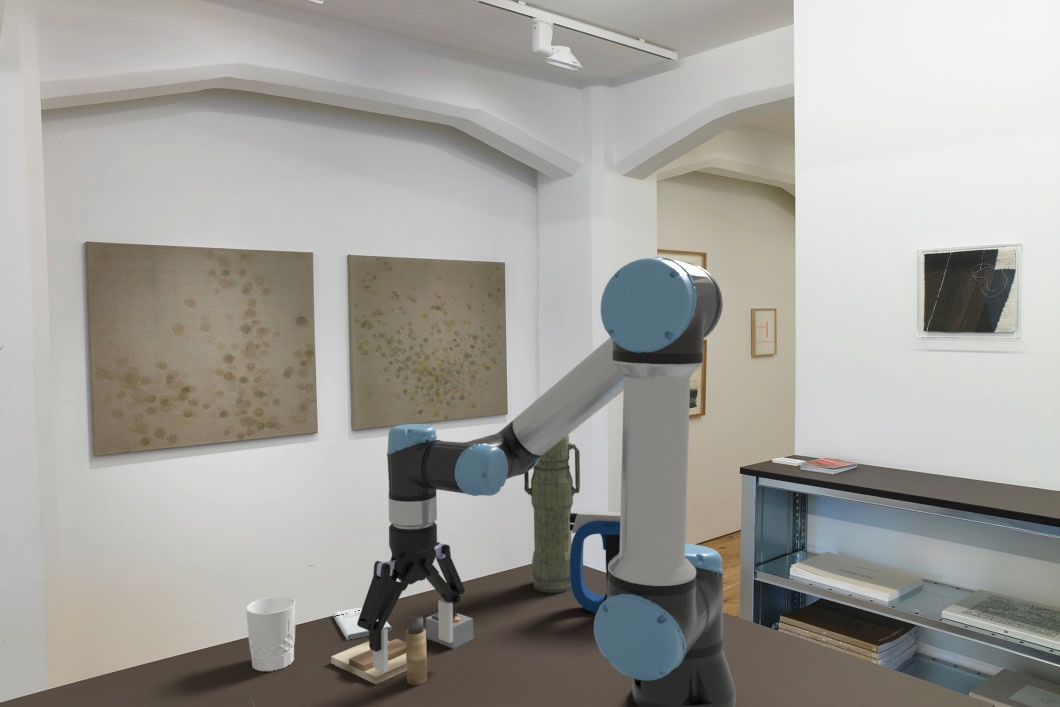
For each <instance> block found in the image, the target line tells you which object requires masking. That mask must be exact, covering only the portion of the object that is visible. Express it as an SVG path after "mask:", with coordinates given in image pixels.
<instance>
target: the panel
mask: <svg viewBox="0 0 1060 707" xmlns="http://www.w3.org/2000/svg"><path fill="white" fill-rule="evenodd" d="M330 664H331V665H333V664H334V665H333V666H335V667H338V668H340V669H342V670H344V671H347V672H348V673H351V674H353V675H354V676H357V677H359V678H362V679H364V680H366V681H367V682H369V683H372V684H375V685H378V684H380V683H382V682H386V681H387V680H389V679H392V678H393V677H395V676H397V675H400V674H401V673H404V672H407V664H406V641H403V640H401V639H398V638H395V639H392V640H390V641H389V640H388V671H387V672H385V673H384V672H382V671H380V670H377V669H375V668H373V650H371V649H370V647H369V640H367V641H366V642H363V643H361V644H358V645H356V646H353V647H350V648H348V649H345V650H343V651H341V652H338V653H336V654H334V655H331V656H330Z"/></svg>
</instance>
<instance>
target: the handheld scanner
mask: <svg viewBox="0 0 1060 707" xmlns="http://www.w3.org/2000/svg"><path fill="white" fill-rule="evenodd" d="M620 516H621V512H620V511H619V512H614V511H612V512H611V511H597V510H596V511H593V510H591V511H590V510H578V512H571V513H570V523H571V524H570V531H571V534H574V535H573V538H572V539H571V552H570V580H571V587H572V589H571V591H572V594H573V596H574V599H575V600H576V601H577V603H578V604H579V605H580V606H582V608H584V609H585V610H587V611H588V612H590V613H592V614H595V615H596V613H597V611H598V610H599V607H600V605H601V604H602V603H603V602H604V601H605V600H606V599H607V592H606V594H597V593H595V592H593V591H591V590H590V589H589V587H588V586H587V584H586V581H585V576H584V544H585V539H587V538H588V537H590V536H593V535H599V536H600V537H601V540H602V541H601V542H602V547H603V548H602V549H603V550H604V551H605V573H606V576H605V577H606V580H607V579H608V564H609V562H610V561H611V560H612V559H613V558H614V557H615V556H617V555H618V554H619V552H620Z"/></svg>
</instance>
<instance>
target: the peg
mask: <svg viewBox="0 0 1060 707" xmlns="http://www.w3.org/2000/svg"><path fill="white" fill-rule="evenodd" d="M407 627H408V628H407V629H406V630H405V642H406V664H407V670H406V683H407V684H409V685H411V686H419V685H423V684H425V683H427V681H428V662H427V661H428V658H427V655H428V654H427V639H426V627H425V628H424V617H423V616H420V615H413V616H409V617H408V618H407Z"/></svg>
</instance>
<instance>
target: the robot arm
mask: <svg viewBox="0 0 1060 707" xmlns="http://www.w3.org/2000/svg"><path fill="white" fill-rule="evenodd" d="M723 304H724V303H723V294H722V291H721V288H720V285H719V283H718V282H717V280H716V279H715V278H714V276H713V275H712V274H711V273H709V272H708V271H707V269H704V268H703V267H701V266H699V265H697V264H696V263H691V262H687V261H679V260H674V259H671V258H668V257H659V256H654V257H650V258H649V257H647V258H640V259H636V260H634V261H631V262H629V263H627V264H625V265H623V266H622V267H620V268H619V269H618V270H617V271H615V273H614V274H613V275H612V276H611V277H610V279H608V282H607V284H606V285H605V288H604V290H603V292H602V295H601V300H600V317H601V318H600V319H601V322H602V325H603V327H604V329H605V332H606V333H607V334H608V336H609V337H608V338H607V339H606V340H605V341H604V342H603V343H602V344H601V345H599V346H598V347H597V348H596V349H595V350H593V351H592V352H591V353H589V355H587V356H586V357H585V358H584V359H583V360H582V361H580V362H579V363H578V364H576V366H574V367H573V369H571V370H570V371H569V372H568V373H566V374H565V375H564V376H563V377H562V378H561V379H559V380H558V381H557V382H556V383H555V384H553V385H551V387H550V388H548V390H546V391H545V392H544V393H543V394H541V395H540V396H539V397H538V398H537V399H536V400H535V401H534V402H532V403H531V404H530V405H529V406H528V407H526V409H524V410H523V411H522V412H520V413H519V414H518V415H516V416H515V418H514V419H513V420H512V421H510V422H509V423H508V424H506V425H505V426H504V427H503V428H502V429H501V430H500V431H498V432H496V433H494V434H490V435H487V436H483V437H480V438H477V439H471V440H469V441H464V442H463V441H447V440H446V441H445V440H440V439H438V436H437V430H436V428H435V426H433V425H431V424H424V423H408V424H400V425H395V426H393V427H392V428H391V429H389V431H388V435H387V436H388V437H387V438H388V439H387V453H386V457H387V459H386V460H387V474H388V475H387V476H388V477H387V478H388V521H389V523H390V525H389V526H388V546H389V549H390V552H391V557H390V560H389V561H384V562H383V561H380V560H377V561H375V562H374V565H373V572H372V573H373V574H372V579H371V582H370V584H369V588H368V590H367V593H366V597H365V599H364V602H363V605H362V606H361V607H362V610H361V613H360V616H359V619H358V622H357V625H358V626H359V627H361V628H363V629H366V630H368V631H369V636H368V641H369V647H370V649H371V650H373V668H375V669H377V670H380V671H382V672H384V673H385V672H387V671H388V641H389V639H388V638H389V637H388V636H389V632H388V629H386V628H384V625H385V623H386V621H387V622H388V619H389V617H390V616H391V614H392V611H393V610H394V608H395V606H396V604H397V602H398V600H399V599H400V596H401V595H402V593H403V592H404V591H406V590H407V588H408V586H409V585H413V584H415V583H417V582H419V581H420V582H421V581H425V580H427V581H428V582H429V584H430V585H431V586H432V587H433V589H434V590H436V592H437V593H438V594H439V595H440V597H441V598H442V599H438V602H437V604H438V606H437V608H438V612H437V613H438V626H439V639H441V640H443V641H446V642H448V643H451V642H453V619H454V618H455V613H456V604H457V603H459V602H460V601H461V596H460V595H463V594H464V593H465V592H466V590H465V587H464V585H463V582H462V580H461V577H460V576H459V573H458V571H457V569H456V565H455V564H454V561H453V559H452V556H451V547H450V545H449V544H446V543H442V542H439V541H438V525H437V524H438V523H436V521H437V519H438V511H437V510H438V508H437V507H438V506H437V504H438V503H437V501H438V500H437V498H438V497H437V491H443V492H445V491H446V492H453V493H459V494H463V495H465V494H467V495H469V496H472V497H473V496H474V497H477V496H487V497H491V496H494V495H497V494H498V493H499V492H501V489H502V488H503V487H504V486H505V483H506V481H507V480H508V479H511V478H513V477H514V478H515V477H517V476H518V477H519V476H521V475H524V473H526V472H527V471H528V472H529V471H530V470H532V469H534V467H535V466H536V465H537V463H538V462H539V460H540V457H541V456H542V455H543V454H545V453H546V452H547V451H548V450H549V449H551V448H552V447H553V446H554V445H556V444H557V443H558V442H560V441H561V440H562V439H563V438H565V437H566V436H567V435H570V434H571V433H572V432H573V431H575V430H576V429H577V428H578V427H580V426H581V425H582V424H584V423H585V422H586V421H587V420H589V419H590V418H591V417H592V416H594V414H596V413H597V412H598V411H599V410H601V409H602V408H603V407H605V406H606V405H608V404H609V403H610V402H612V400H613V399H615V398H616V397H618V396H619V395H620V394H623V396H622V398H623V399H622V401H623V402H622V403H623V404H622V406H623V407H622V440H621V442H622V443H621V444H622V446H621V477H620V478H621V484H620V486H621V488H620V493H621V494H620V513H621V516H620V552H619V554H618V555H617V556H615V557H614V558H613V559H612V560H611V561H610V562H609V564H608V579H607V578H606V593H607V599H606V600H605V601H604V602H603V603H602V604H601V605H600V607H599V610H598V611H597V613H596V614H595V616H594V620H593V635H594V639H595V642H596V645H597V647H598V650H599V651H600V652H601V655H602V656H603V657H604V658H606V659H607V661H608V662H609V663H610V665H611V666H612V667H613V668H614V669H616V671H618V672H620V674H623V675H625V676H626V677H629V678H632V699H633V702H634V703H635V704H636V706H637V707H736V704H737V701H736V695H737V693H736V684H735V682H734V679H733V676H732V674H731V669H730V667H729V664H728V661H727V657H726V655H725V653H724V575H725V574H724V573H725V571H724V570H723V558H722V555H721V554H720V553H719V552H718V551H717V550H715V549H714V548H711V547H708V546H705V545H699V544H693V543H687V542H686V541H687V540H686V535H687V534H686V533H687V503H688V502H687V501H688V500H687V498H688V472H689V471H688V470H689V469H688V468H689V467H688V465H689V464H688V461H689V432H690V431H689V430H690V402H691V401H690V399H691V398H690V397H691V377H692V376H693V374H695V372H696V371H697V370H698V369H700V368H701V367H702V366H703V363H704V359H703V358H704V339H705V338H707V337H708V336H709V335H710V334H711V333H712V332H713V331H714V329H715V328H716V327H717V325H718V323H719V321H720V319H721V316H722V312H723V306H724V305H723ZM435 560H436V561H437V562H436V563H437V564H438V566H439V568H440V571H441V573H442V575H443V577H442V576H441V574H440V571H439V570H438V569H437V568H436V566H434V562H435ZM377 620H378V621H377Z"/></svg>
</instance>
